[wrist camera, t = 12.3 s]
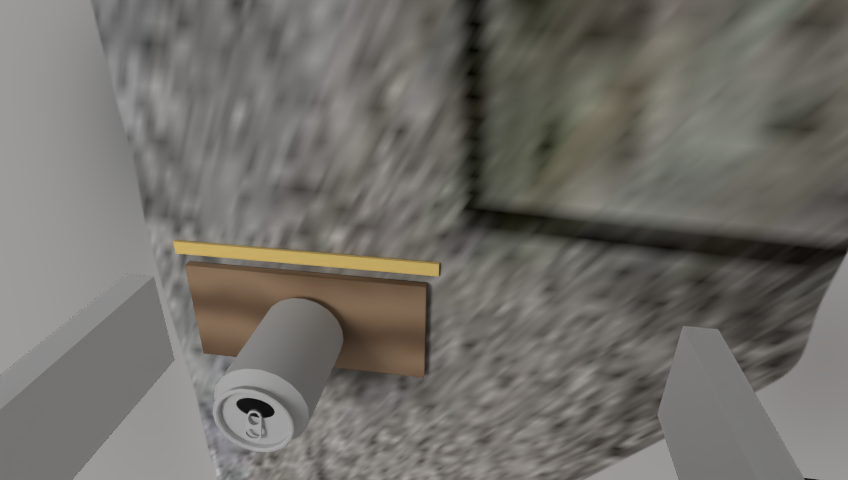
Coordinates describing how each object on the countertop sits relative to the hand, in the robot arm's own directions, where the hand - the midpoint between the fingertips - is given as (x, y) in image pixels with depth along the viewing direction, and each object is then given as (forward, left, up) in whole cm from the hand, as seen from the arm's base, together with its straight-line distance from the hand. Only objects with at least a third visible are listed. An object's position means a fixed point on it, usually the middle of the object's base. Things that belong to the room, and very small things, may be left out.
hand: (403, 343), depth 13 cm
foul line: (+14, -14, -29) cm, 35 cm away
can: (+22, -14, -28) cm, 38 cm away
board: (+21, -14, -29) cm, 38 cm away
